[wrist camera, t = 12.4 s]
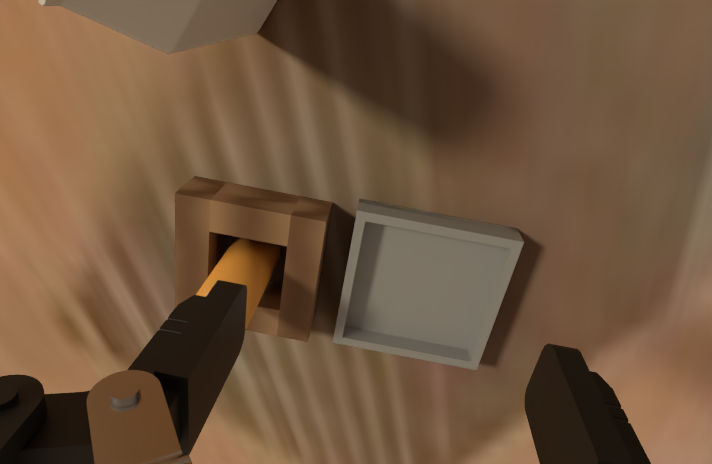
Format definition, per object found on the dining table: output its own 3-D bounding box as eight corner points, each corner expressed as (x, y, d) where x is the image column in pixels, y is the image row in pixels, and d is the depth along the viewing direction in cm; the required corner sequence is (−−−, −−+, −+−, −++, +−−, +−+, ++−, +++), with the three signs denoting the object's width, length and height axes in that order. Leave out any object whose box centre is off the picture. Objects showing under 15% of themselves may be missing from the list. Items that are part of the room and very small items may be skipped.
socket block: (332, 202, 41) (326, 222, 37) (314, 315, 46) (307, 341, 43) (194, 176, 41) (175, 193, 37) (192, 292, 46) (175, 316, 43)
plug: (282, 233, 43) (250, 296, 34) (278, 274, 45) (246, 344, 36) (234, 224, 43) (189, 284, 34) (232, 265, 45) (189, 333, 36)
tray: (517, 228, 41) (524, 242, 38) (472, 352, 47) (476, 370, 44) (359, 198, 41) (357, 210, 38) (335, 325, 47) (332, 342, 44)
